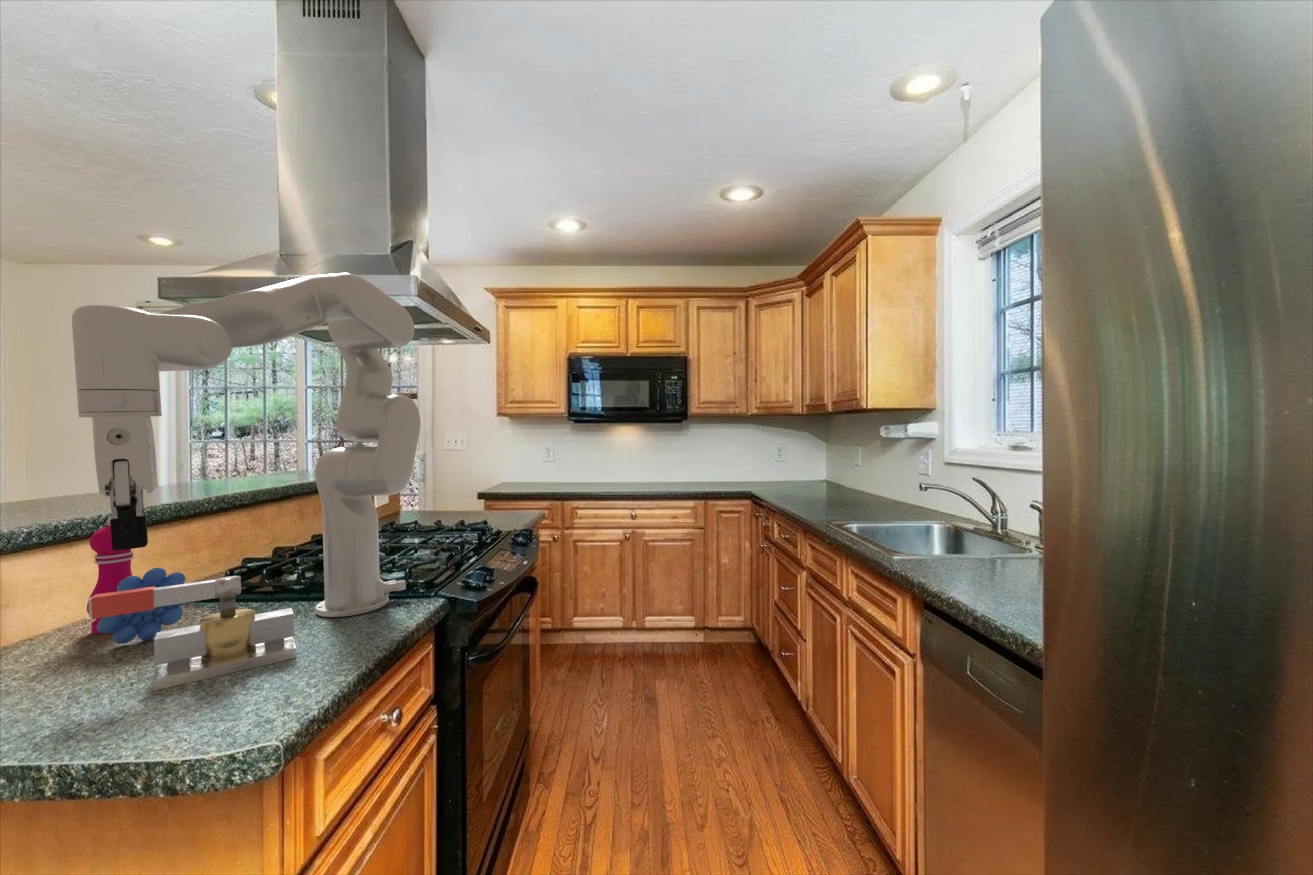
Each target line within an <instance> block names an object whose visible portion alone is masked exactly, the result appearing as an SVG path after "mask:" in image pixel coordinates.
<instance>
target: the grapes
mask: <svg viewBox="0 0 1313 875" xmlns="http://www.w3.org/2000/svg"><path fill="white" fill-rule="evenodd" d="M186 579H187V578H186V575H185V574H184V573H182V572H179V571H178V572H172V573H169V575H167V571H166V569H165V568H162V567H153V568H151V569H149V570H147V571H146V572H145V573H144V574H143V576H142V578H141V577H139V576H138V575H133V576H129V577H127V578H125V579H123V580H122V581H120V583H119V585H118V587H117V591H125V590H132V589H139V588H146V587H153V586H155V588H158V587H165V586H172V585H179V584H185V582H186ZM185 604H186V603H180V604H174V605H167V606H161V607H155V608H154V609H153V610H147V611H140V612H134V613H128V614H121V615H115V616H109V617H103V618H102V619H101V620H100V621H99V623H98V625H97V630H98V631H99V632H100V633H102V634H101V635H104V634H106V633H107V634H112V641H113V642H114V643H116V644H118V645H123V644H127V643H129V642H130V641H132V640H133V639H135V638H136V637H137V638H139V639H140V640H141V641H151V640H154V639H155V636H156V634H157V632H162V629H163V626H172V625H174V624H175V623H177V622H178V621H180V620H181V619H182V617H183V614H184V610H183V609H182V608H181V606H183V605H185ZM115 630H116V631H115ZM114 631H115V632H114ZM112 632H114V633H112Z"/></svg>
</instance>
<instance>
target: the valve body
mask: <svg viewBox="0 0 1313 875" xmlns="http://www.w3.org/2000/svg"><path fill="white" fill-rule="evenodd" d="M255 612H256V610H255V609H251V608H239V609H236V595H235V596H231V597H226V598H219V612H216V613H212V614H209V615H206V616H205V617H203V618H201V619H200V621H199V624H196V625H190V626H186V627H178V628H174V629H169V630H163V631H162V630H161V631H160V632H157V634H156V636H155V637H154V638H153V646H154V648H153V651H154V655H153V656H154V666H155V667H156V669H155V672H154V675H153V678H152V692H154V691H155V692H156V691H159V690H163V689H168V688H172V687H176V686H180V685H185V684H189V683H193V682H199V681H202V680H207V679H210V678H211V679H212V678H216V677H219V676H223V675H228V674H229V675H230V674H232V673H237V672H240V671H245V670H248V669H249V670H251V669H254V668H259V667H263V666H267V665H271V664H275V663H280V662H284V661H285V662H286V661H288V660H293V659H296V658H297V647H296V644H295V641H294V637H295V622H294V621H295V619H294V618H295V617H294V615H295V614H294V611H293V608H292V607H289V608H288V607H287V608H283V609H278V610H273V611H268V612H267V611H266V612H262V613H257V614H256V613H255Z"/></svg>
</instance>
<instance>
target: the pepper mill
mask: <svg viewBox="0 0 1313 875" xmlns="http://www.w3.org/2000/svg"><path fill="white" fill-rule="evenodd" d="M111 518H112V516H111V517H109V518H108V519H107V520H106V525H107V526H105V527H104V526H103V527H101V528H99V529H98V530H96V531H95V532H94V533H93V534H91V536H90V539H89V547H90V548H91V550H93V551H94V553H96V555H94V559H95V560H94V564H96V565H97V568H98V569H97V570H98V576H97V581H96V584H95V586H94V588H93V590H92V591H91V594H90V595H89V598H88V601H87V603H86V613H87V614H88V615H89V599H90V598H91V597H93V596H94V595H96V594H103V593H110V592H117V587H118V585H119V583H120V581H122V580H123V579H125V578H127V577H129V576H134V575H133V573H132V566H131V564H132V560H133V559H134V558H135V556H134V554H135V550H132V549H126V550H118V551H114V550H113V549H112V539H111V524H110V519H111ZM101 619H102V618H96V619H94V620H93V621H92V622H91V624H90V625H91V633H92V634H94V635H103V634H102V633H100V632H99V631H98V630H97V625H98V623H99V621H100V620H101ZM115 631H116V630H115ZM115 631H114V632H112V633H111V634H114V633H115ZM106 634H108V633H106Z"/></svg>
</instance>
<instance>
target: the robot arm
mask: <svg viewBox="0 0 1313 875" xmlns="http://www.w3.org/2000/svg"><path fill="white" fill-rule="evenodd" d="M325 324H327V327H328V328H327V329H328V330H327V331H328V333H329V336H330V338H331V341H333V343H334V345H335V346H336V348H337V349H338V351H339V353H340V354H341V357H342V358H343V361H344V363H345V367H346V377H345V382H344V386H343V390H342V395H341V397H340V398H341V399H340V403H339V407H338V410H337V411H338V412H337V416H336V426H335V427H336V431H337V432H338V434H339V436H340V437H341V438H343V439H344V440H346V441H350V442H357V443H358V442H359V443H377V446H366V445H365V446H364V445H363V446H341V447H335V448H332V449H329V450H327V451H326V452H324V453H323V454H322V455H321V456H319V458H318V459H317V462H316V464H315V468H314V477H315V483H316V486H317V491H318V494H319V499H320V503H321V504H320V505H321V512H322V513H321V514H322V515H321V518H322V537H323V538H322V545H323V546H322V547H323V549H322V550H323V581H324V582H323V586H324V587H323V588H324V600H323V601H320V602H318V603H317V604H316V605H315V606H314V607H315V609H314V611H315V614H316V615H317V616H320V617H325V618H343V617H351V616H357V615H362V614H367V613H370V612H374V611H376V610H378V609H381V608H383V607H384V606H386V605H387V604H388V603H389V602H390V599H389V594H390V593H391V592H399V591H404V590H406V589H407V583H406V582H407V581H405V579H402V580H397V581H396V579H393V580H388V581H384V580H383V579H381V577H380V574H381V573H380V545H379V544H380V543H379V542H380V540H379V539H380V538H379V537H380V536H379V516H378V511H377V507H376V506H375V503H374V501H373V500H372V497H371V496H376V497H377V496H379V497H383V496H394V495H397V494H399V493H401V492H402V491H404V489H405V488H406V487H407V485H408V484H409V482H410V480H411V476H412V472H413V468H414V463H415V458H416V453H417V448H418V442H419V437H420V434H421V433H420V432H421V423H422V422H421V416H420V411H419V408H418V406H417V403H416V402H415V401H414V400H413V399H412V398H410V397H409V396H407V395H403V394H397V393H394V394H393V393H392V386H393V373H392V369H391V367H390V366H389V364H388V362H387V361H386V360H385V358H384V356H383V355H382V354H381V352H380V350H379V349H381V350H382V349H395V348H397V349H398V348H403V347H405V346H407V345H408V344H409V343H410V342H411V341H412V340H413V338H414V335H415V324H414V320H413V318H412V316H411V314H410V312H409V311H408V310H407V309H406V308H405V307H404V306H403V305H402V304H400V303H399V302H397V300H395V299H394V298H392V297H391V296H389V295H388V294H386V293H385V292H384V291H383V290H381V289H380V288H378V287H377V286H375V285H374V284H373V283H371V282H369V281H368V280H366V279H364V278H363V277H362V276H361V277H360V276H358V275H356V274H354V273H349V272H339V273H328V274H316V275H315V274H314V275H307V276H302V277H298V278H294V279H290V280H287V281H283V282H279V283H276V284H272V285H268V286H264V287H261V288H256V289H251V290H248V291H243V292H240V293H239V292H238V293H235V294H230V295H226V296H222V297H219V298H216V299H212V300H208V301H204V302H197V303H194V304H190V305H186V306H185V305H184V306H181V307H176V308H171V309H168V310H163V311H160V312H157V313H155V312H147V311H144V310H141V309H139V308H132V307H129V306H128V307H126V306H118V305H110V304H109V305H106V304H105V305H104V304H90V305H89V304H87V305H83V306H79V307H77V308H76V309H74V311H73V313H72V316H71V330H72V341H73V343H72V344H73V355H74V356H73V357H74V370H75V371H74V372H75V385H76V397H77V412H78V413H77V414H78V418H92V437H93V448H94V449H93V450H94V463H95V470H96V478H97V485H98V491H99V494H100V495H101V496H103V497H109V500H110V501H109V502H110V513H111V517H112V518H111V517H110V518H111V519H110V524H111V539H112V549H113V550H114V551H118V550H126V549H131V550H132V549H139V548H145V547H147V545H148V544H149V537H148V536H149V535H148V522H147V521H148V520H147V519H148V518H147V514H145V504H144V503H145V501H144V500H145V499H144V490H146V492H147V494H152V493H154V492H155V491H156V490H157V488H158V486H159V482H158V473H157V471H158V470H157V459H156V446H155V435H154V428H153V423H152V417H162V416H163V415H162V414H163V413H162V400H161V384H160V372H170V371H171V372H174V371H178V372H179V371H180V372H182V371H198V370H199V371H200V370H201V371H202V370H208V369H211V368H215V367H218V366H219V365H221V364H223V363H224V362H225V361H227V360H228V359H229V358H230V356H231V353H232V351H233V349H235V348H236V349H237V348H243V347H253V346H254V347H255V346H260V345H261V346H262V345H267V344H270V343H275V342H278V341H283V340H284V339H288V338H290V337H293V336H295V335H297V334H300V333H303V332H305V331H308V330H311V329H314V328H316V327H319V326H321V325H322V326H323V325H325Z"/></svg>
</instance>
